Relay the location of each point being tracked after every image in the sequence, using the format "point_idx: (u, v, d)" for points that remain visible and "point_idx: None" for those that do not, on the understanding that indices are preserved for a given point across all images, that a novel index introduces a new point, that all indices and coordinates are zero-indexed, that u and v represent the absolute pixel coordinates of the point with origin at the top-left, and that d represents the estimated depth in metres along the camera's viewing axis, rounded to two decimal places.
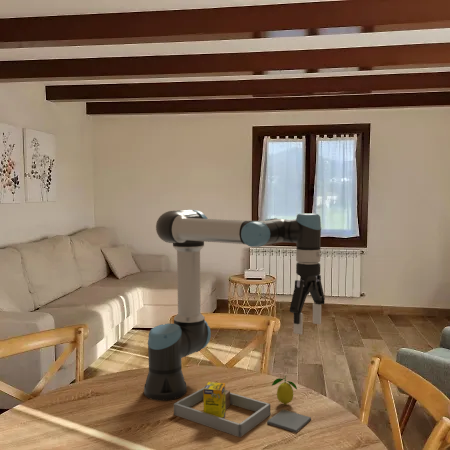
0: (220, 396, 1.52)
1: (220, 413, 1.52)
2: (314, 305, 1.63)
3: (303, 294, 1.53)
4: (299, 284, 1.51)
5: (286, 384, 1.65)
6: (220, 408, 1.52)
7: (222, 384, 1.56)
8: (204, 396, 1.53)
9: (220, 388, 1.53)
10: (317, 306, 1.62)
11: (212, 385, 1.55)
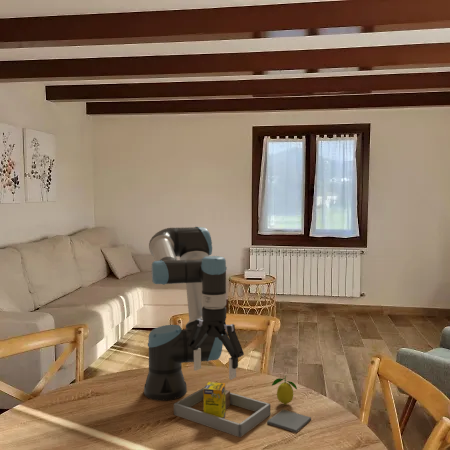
0: (220, 396, 1.52)
1: (220, 413, 1.52)
2: None
3: None
4: None
5: (286, 384, 1.65)
6: (220, 408, 1.52)
7: (222, 384, 1.56)
8: (204, 396, 1.53)
9: (220, 388, 1.53)
10: None
11: (212, 385, 1.55)
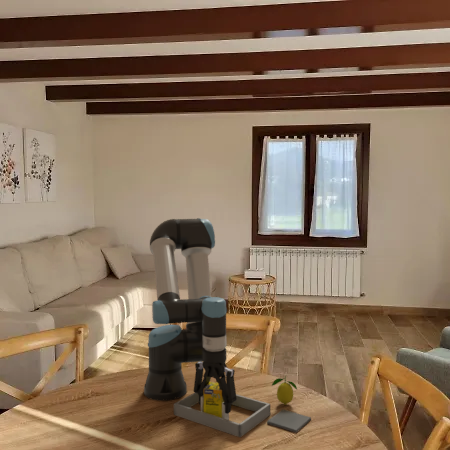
0: (220, 396, 1.52)
1: (220, 413, 1.52)
2: None
3: None
4: None
5: (286, 384, 1.65)
6: (220, 408, 1.52)
7: None
8: (204, 396, 1.53)
9: None
10: None
11: (212, 385, 1.55)
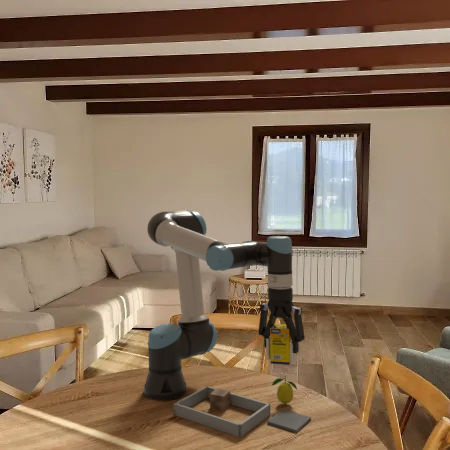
0: (288, 335, 1.48)
1: (288, 353, 1.48)
2: None
3: None
4: None
5: (286, 384, 1.65)
6: (288, 348, 1.48)
7: None
8: (271, 336, 1.49)
9: None
10: None
11: (278, 326, 1.52)
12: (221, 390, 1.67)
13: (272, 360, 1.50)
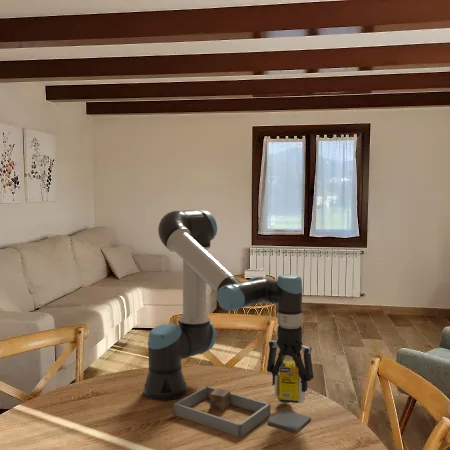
0: (297, 374, 1.49)
1: (297, 391, 1.50)
2: None
3: None
4: None
5: None
6: (297, 386, 1.50)
7: None
8: (280, 374, 1.51)
9: None
10: None
11: (287, 363, 1.53)
12: (221, 390, 1.67)
13: (281, 398, 1.51)
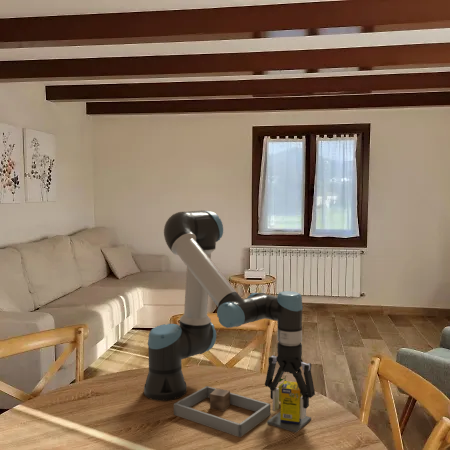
0: (298, 396, 1.49)
1: (298, 413, 1.50)
2: None
3: None
4: None
5: None
6: (298, 408, 1.50)
7: None
8: (282, 395, 1.51)
9: (298, 388, 1.51)
10: None
11: (289, 384, 1.53)
12: (221, 390, 1.67)
13: (282, 419, 1.51)
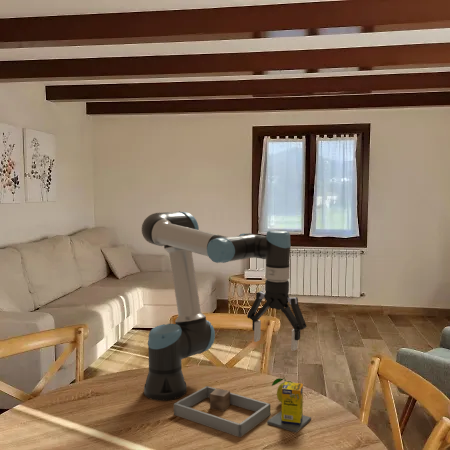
0: (299, 396, 1.49)
1: (299, 414, 1.50)
2: None
3: None
4: None
5: None
6: (299, 409, 1.50)
7: (300, 384, 1.54)
8: (282, 396, 1.51)
9: (299, 388, 1.51)
10: None
11: (290, 385, 1.53)
12: (221, 390, 1.67)
13: (283, 420, 1.51)
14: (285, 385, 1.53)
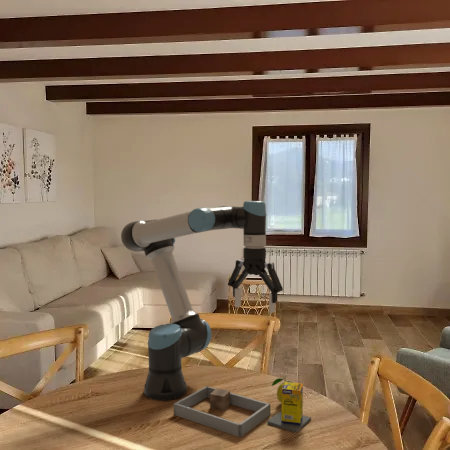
0: (299, 396, 1.49)
1: (299, 414, 1.50)
2: None
3: None
4: None
5: None
6: (299, 409, 1.50)
7: (300, 384, 1.54)
8: (282, 396, 1.51)
9: (299, 388, 1.51)
10: None
11: (290, 385, 1.53)
12: (221, 390, 1.67)
13: (283, 420, 1.51)
14: (285, 385, 1.53)
